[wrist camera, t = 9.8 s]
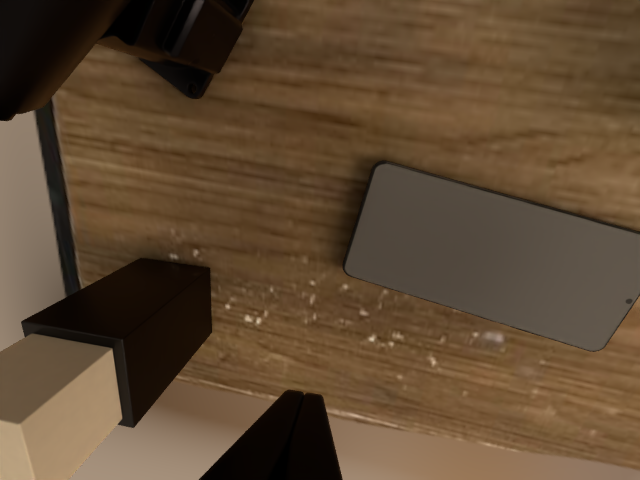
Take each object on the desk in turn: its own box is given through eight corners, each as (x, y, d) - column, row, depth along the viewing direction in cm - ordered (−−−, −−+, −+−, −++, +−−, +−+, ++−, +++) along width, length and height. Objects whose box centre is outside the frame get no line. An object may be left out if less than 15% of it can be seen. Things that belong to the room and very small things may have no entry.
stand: (146, 321, 24) (41, 408, 16) (140, 257, 22) (20, 321, 15) (212, 332, 23) (133, 428, 16) (210, 267, 22) (122, 339, 14)
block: (48, 402, 16) (-52, 485, 12) (32, 332, 15) (-86, 401, 11) (122, 418, 16) (42, 509, 12) (112, 347, 14) (18, 424, 10)
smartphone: (375, 158, 17) (678, 243, 16) (375, 156, 18) (662, 237, 17) (339, 275, 19) (600, 357, 18) (340, 269, 20) (590, 347, 19)
